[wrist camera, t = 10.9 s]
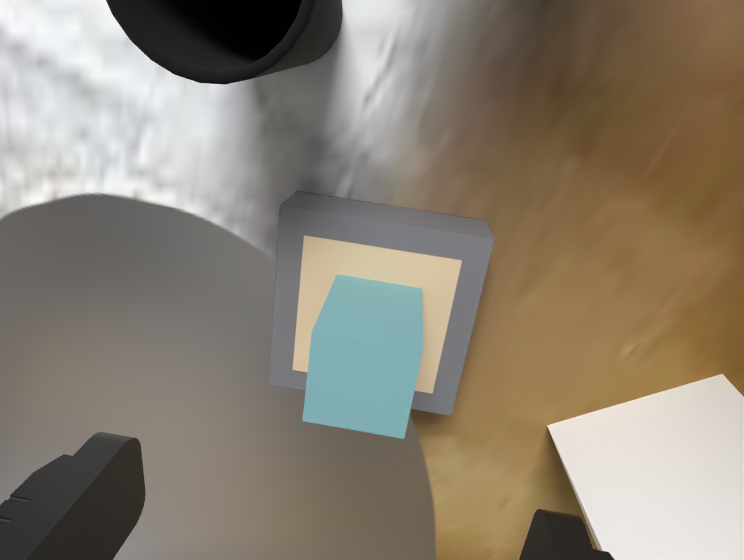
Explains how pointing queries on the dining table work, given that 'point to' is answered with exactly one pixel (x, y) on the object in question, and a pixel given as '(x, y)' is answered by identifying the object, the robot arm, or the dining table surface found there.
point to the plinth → (380, 263)
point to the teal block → (365, 356)
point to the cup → (229, 34)
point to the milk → (661, 473)
